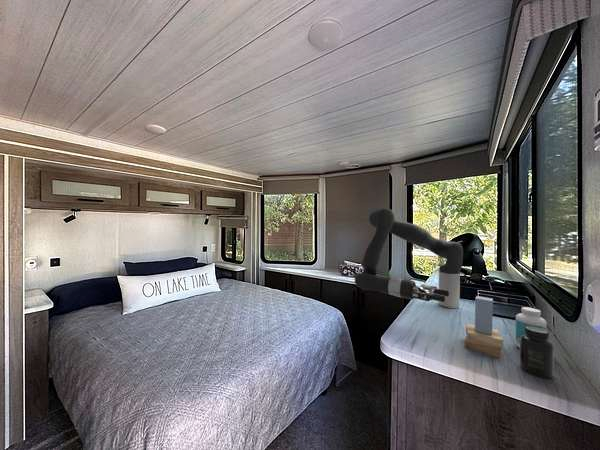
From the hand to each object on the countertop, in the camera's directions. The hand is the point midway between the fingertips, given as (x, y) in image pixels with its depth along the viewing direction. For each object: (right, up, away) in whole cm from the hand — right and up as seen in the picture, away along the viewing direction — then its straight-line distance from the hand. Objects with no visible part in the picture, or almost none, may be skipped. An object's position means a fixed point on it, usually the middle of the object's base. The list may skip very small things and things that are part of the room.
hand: (446, 296), depth 88 cm
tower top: (+7, -13, -8) cm, 17 cm away
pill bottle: (+23, -16, -8) cm, 29 cm away
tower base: (+7, -16, -8) cm, 19 cm away
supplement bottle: (+12, -15, -21) cm, 29 cm away
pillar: (+8, -9, -8) cm, 15 cm away
